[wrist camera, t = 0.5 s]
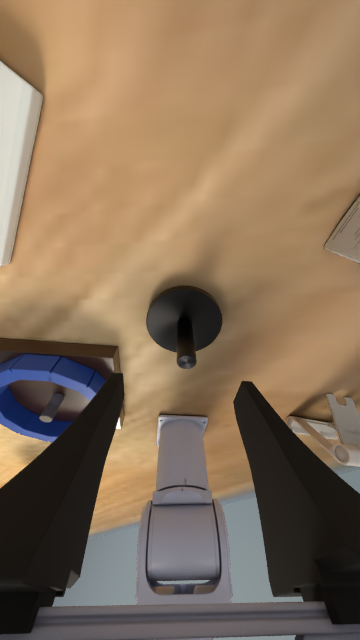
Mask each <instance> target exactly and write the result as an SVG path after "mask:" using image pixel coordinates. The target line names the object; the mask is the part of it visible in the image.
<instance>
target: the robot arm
mask: <svg viewBox="0 0 360 640" xmlns="http://www.w3.org/2000/svg"><path fill="white" fill-rule="evenodd" d="M123 400H124V383H123V373H111V374H110V375H109V377H108V378H107V380H106V381H105V383H104V384H103V385H102V387H101V388H100V389H99V391H98V392H97V393H96V395H95V396H94V397H93V398H92V400H91V401H90V402H89V403H88V405H87V406H86V407H85V408H84V409H83V411H82V412H81V413H80V414H79V415H78V416H77V417H76V418H75V420H74V421H73V422H72V423H71V424H70V425H69V426H68V427H67V428H66V429H65V430H64V431H63V432H62V433H61V434H60V435H59V436H58V437H57V439H56V440H55V441H53V442H52V443H51V444H50V445H49V446H48V447H47V448H46V449H45V450H44V451H43V452H42V453H41V454H40V455H39V456H38V457H36V458H35V459H34V460H33V461H32V462H31V463H30V464H29V465H28V466H26V467H25V468H24V469H23V470H22V471H20V472H19V473H18V474H17V475H16V476H15V477H13V478H12V479H11V480H10V481H9V482H8V483H6V484H5V485H4V486H3V487H2V488H0V640H213V638H219V637H248V636H249V637H250V636H279V635H280V636H281V635H296V637H295V640H360V494H359V493H358V492H357V491H355V490H354V489H353V488H352V487H351V486H350V485H348V484H347V483H346V482H345V481H344V480H343V479H341V478H340V477H339V476H338V475H337V474H336V473H335V472H334V471H332V470H331V469H330V468H329V467H328V466H327V465H326V464H325V463H324V462H322V461H321V460H320V459H319V458H318V457H317V456H316V455H315V454H314V453H313V452H312V451H311V450H310V449H309V448H308V447H307V446H306V445H305V444H304V443H303V442H302V441H301V440H300V439H299V438H298V437H297V436H296V435H295V434H294V432H293V431H292V430H291V429H290V428H289V427H288V426H287V425H286V424H285V422H284V421H283V420H282V419H281V418H280V416H279V415H278V414H277V413H276V412H275V410H274V409H273V408H272V407H271V406H270V404H269V403H268V402H267V401H266V399H265V398H264V397H263V395H262V394H261V393H260V392H259V390H258V389H257V388H256V387H255V385H254V384H253V383H252V382H249V381H242V382H241V385H240V387H239V389H238V392H237V394H236V397H235V399H234V401H233V403H234V409H235V414H236V420H237V423H238V427H239V430H240V434H241V437H242V440H243V444H244V447H245V450H246V454H247V457H248V461H249V464H250V468H251V473H252V478H253V483H254V487H255V493H256V498H257V503H258V508H259V514H260V520H261V526H262V532H263V539H264V546H265V553H266V560H267V567H268V575H269V582H270V586H271V590H272V594H273V596H274V597H293V596H302V597H303V601H304V602H275V603H274V602H269V603H232V602H231V598H232V596H233V593H232V584H231V575H230V550H229V541H228V533H227V527H226V521H225V516H224V512H223V508H222V506H221V505H220V503H219V502H218V500H217V499H212V493H211V490H209V487H208V478H207V469H206V459H205V450H204V441H203V434H204V431H205V428H206V425H207V422H208V418H207V417H198V416H176V415H159V417H158V430H157V444H156V445H157V446H159V449H158V463H157V476H156V490H155V492H153V500H149V501H147V503H146V505H145V506H144V507H143V510H142V514H141V519H140V526H139V534H138V544H137V582H136V595H135V598H136V601H137V605H120V606H119V605H118V606H69V607H68V606H66V607H52V605H53V602H54V599H55V597H63V596H64V594H65V590H66V588H71V586H73V585H74V583H75V582H76V581H77V580H78V578H79V577H80V573H81V567H82V563H83V559H84V553H85V548H86V544H87V539H88V534H89V530H90V525H91V520H92V516H93V511H94V507H95V502H96V498H97V494H98V489H99V485H100V481H101V477H102V472H103V468H104V464H105V461H106V457H107V454H108V451H109V448H110V445H111V442H112V438H113V435H114V432H115V429H116V426H117V423H118V420H119V417H120V414H121V409H122V405H123ZM173 580H174V581H176V580H177V581H178V580H210V581H208V582H206V583H201V584H199V583H198V584H161V583H158V582H157V581H173Z"/></svg>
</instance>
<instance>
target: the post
mask: <svg viewBox="0 0 360 640" xmlns="http://www.w3.org/2000/svg"><path fill="white" fill-rule="evenodd" d="M146 322H147V329H148V332H149V334H150V336H151V337H152V339H153V340H154V341H155V342H156V343H157V344H158V345H160V346H161V347H163V348H165V349H167V350H170V351H173V352H177V364H178V366H179V367H181V368H183V369H190V368H192V367H194V366H195V364H196V353H195V351H198V350H200V349H203V348H205V347H206V346H208V345H209V344H211V343H212V342H213V341H214V340H215V339H216V337H217V336H218V334H219V332H220V330H221V327H222V314H221V311H220V308H219V306H218V304H217V302H216V300H215V299H214V298H213V297H212V296H211V295H210V294H209V293H208V292H206V291H204V290H202V289H200V288H197V287H193V286H177V287H173V288H170V289H167V290H165V291H163V292H162V293H160V294H159V295H158V296H157V297H156V298H155V299H154V300H153V302H152V303H151V305H150V307H149V310H148V314H147V321H146Z"/></svg>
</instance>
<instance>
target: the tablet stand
mask: <svg viewBox="0 0 360 640" xmlns="http://www.w3.org/2000/svg"><path fill="white" fill-rule="evenodd" d="M326 398H327V402H328V405H329V408H330V411H331V414H332V417H333V420H334V423H331V422H323V421H317V420H311V419H305V418H300V417H296V416H289V417H288V418H287V425H288V427H289V428H290V429H291V430H292V431H293V432H294V433H297V434H303V435H310V436H311V437H312V438H313V439H314V440H315V441H317V442H318V443H319V444H320V445H321V446H322V447H323V448H324V449H325V450H326V451H327V452H328V453H329V454H330V455H331V456H333V457H334V458H335V459H336V460H337V461H338V462H339V463H341V464H343V465H349V466H358V467H360V416H359V414H358V412H357V409H356V407H355V404H354V401H353V400H352V399H351V398H348V397H344V401H345V405H340V404H338V403H337V401H336V399H335V396H334V395H333V394H326ZM336 432H337V433H338V434H339V437H340V440H341V443H342V444H341V443H335V444H334V445H332V444H331V443H330V442H329V441H328V440H326V439H325V438H329V439H336V440H337V439H338V437H337V436H336V434H335V433H336Z"/></svg>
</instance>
